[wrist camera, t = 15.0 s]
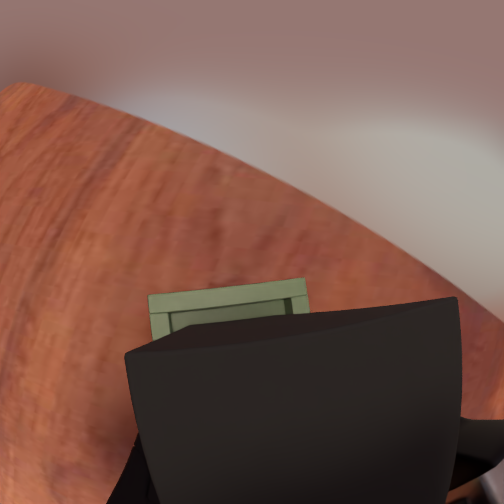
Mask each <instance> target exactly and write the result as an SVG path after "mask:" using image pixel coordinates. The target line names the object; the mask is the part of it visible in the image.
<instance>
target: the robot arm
mask: <svg viewBox="0 0 504 504" xmlns="http://www.w3.org/2000/svg"><path fill="white" fill-rule="evenodd" d="M106 504H160V501H159V498H158V496H157V493H156V490H155V487H154V484H153V481H152V478H151V475H150V471H149V468H148V465H147V461H146V458H145V454H144V451H143V447H142V443H141V439H140V435H139V431H138V434H137V437H136V439H135V442H134V446H133V447H132V450H131V453H130V455H129V458H128V460H127V463H126V465H125V468H124V470H123V472H122V474H121V476H120V478H119V480H118V482H117V484H116V486H115V488H114V490H113V492H112V493H111V495H110V497H109V499H108V501H107V503H106ZM445 504H504V420H471V419H466V418H463V417H461V416H460V426H459V435H458V443H457V450H456V457H455V462H454V468H453V473H452V478H451V483H450V487H449V491H448V495H447V499H446V503H445Z"/></svg>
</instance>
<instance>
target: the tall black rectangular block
mask: <svg viewBox="0 0 504 504" xmlns="http://www.w3.org/2000/svg"><path fill="white" fill-rule="evenodd" d="M124 359H125V365H126V372H127V378H128V384H129V389H130V395H131V400H132V405H133V409H134V414H135V419H136V423H137V427H138V431H139V435H140V439H141V443H142V447H143V451H144V454H145V458H146V461H147V465H148V468H149V471H150V475H151V478H152V481H153V484H154V487H155V490H156V493H157V496H158V498H159V501H160V504H445V503H446V499H447V495H448V491H449V487H450V483H451V478H452V473H453V468H454V462H455V457H456V450H457V443H458V435H459V426H460V415H461V399H462V345H461V329H460V317H459V307H458V300H457V297H454V296H453V297H447V298H440V299H434V300H427V301H420V302H413V303H405V304H397V305H389V306H380V307H371V308H362V309H351V310H341V311H329V312H316V313H302V314H285V315H272V316H265V317H257V318H249V319H241V320H233V321H224V322H214V323H204V324H194V325H188V326H186V327H184V328H182V329H180V330H177V331H175V332H173V333H171V334H168V335H166V336H164V337H161V338H159V339H157V340H155V341H152V342H150V343H148V344H145V345H143V346H141V347H138V348H136V349H134V350H131V351H129V352H127V353H125V357H124Z"/></svg>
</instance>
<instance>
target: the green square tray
mask: <svg viewBox="0 0 504 504" xmlns="http://www.w3.org/2000/svg"><path fill="white" fill-rule="evenodd" d="M147 297H148V307H149V313H150V315H149V316H150V324H151V332H152V340H153V341H155V340H157V339H159V338H161V337H164V336H166V335H168V334H171V333H173V332H175V331H177V330H180V329H182V328H184V327H186V326H188V325H194V324H204V323H214V322H224V321H233V320H241V319H249V318H257V317H265V316H272V315H285V314H302V313H310V308H309V301H308V296H307V289H306V282H305V278H304V277H303V278H296V279H288V280H280V281H272V282H264V283H256V284H248V285H239V286H230V287H221V288H212V289H203V290H193V291H183V292H173V293H162V294H151V295H148V296H147Z"/></svg>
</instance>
